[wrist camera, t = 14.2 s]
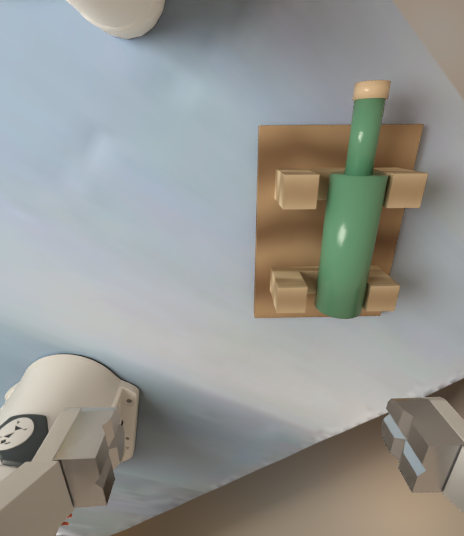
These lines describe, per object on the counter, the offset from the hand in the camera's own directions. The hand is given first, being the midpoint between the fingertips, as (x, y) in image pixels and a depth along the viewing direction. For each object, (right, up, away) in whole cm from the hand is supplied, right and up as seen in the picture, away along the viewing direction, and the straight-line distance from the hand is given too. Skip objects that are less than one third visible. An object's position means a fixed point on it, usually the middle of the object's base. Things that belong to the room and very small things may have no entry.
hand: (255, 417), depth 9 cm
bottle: (+10, +11, +22) cm, 26 cm away
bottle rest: (+10, +9, +26) cm, 29 cm away
